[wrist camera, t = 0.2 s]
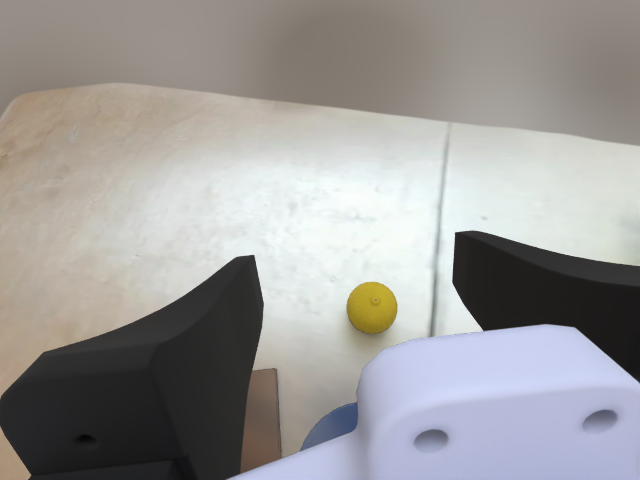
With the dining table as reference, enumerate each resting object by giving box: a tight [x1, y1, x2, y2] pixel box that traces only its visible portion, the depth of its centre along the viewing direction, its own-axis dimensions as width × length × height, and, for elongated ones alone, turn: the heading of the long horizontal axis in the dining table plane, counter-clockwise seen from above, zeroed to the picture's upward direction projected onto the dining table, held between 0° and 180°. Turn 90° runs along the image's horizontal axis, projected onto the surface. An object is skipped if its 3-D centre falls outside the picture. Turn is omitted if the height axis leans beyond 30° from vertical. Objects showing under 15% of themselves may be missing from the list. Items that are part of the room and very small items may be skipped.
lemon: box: [347, 282, 397, 334], centre depth 38 cm, size 6×6×8 cm
